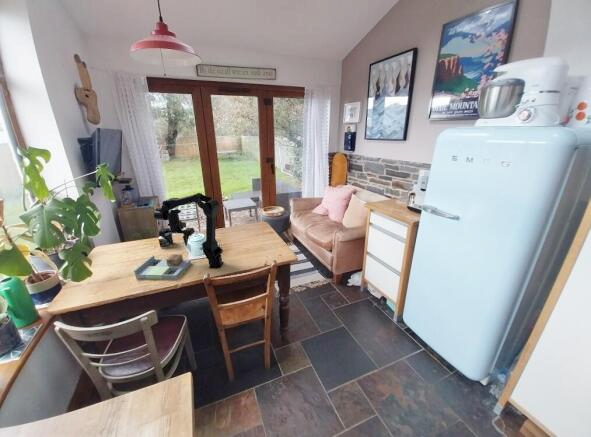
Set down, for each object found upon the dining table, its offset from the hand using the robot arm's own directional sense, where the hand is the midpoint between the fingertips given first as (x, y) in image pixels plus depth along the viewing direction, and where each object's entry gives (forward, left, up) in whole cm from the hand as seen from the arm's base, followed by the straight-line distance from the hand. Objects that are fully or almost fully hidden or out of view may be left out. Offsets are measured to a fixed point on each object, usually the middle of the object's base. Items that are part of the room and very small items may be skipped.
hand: (179, 245), depth 142 cm
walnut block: (+1, +6, -8) cm, 10 cm away
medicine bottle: (+22, -20, -11) cm, 32 cm away
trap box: (+5, +10, -11) cm, 16 cm away
